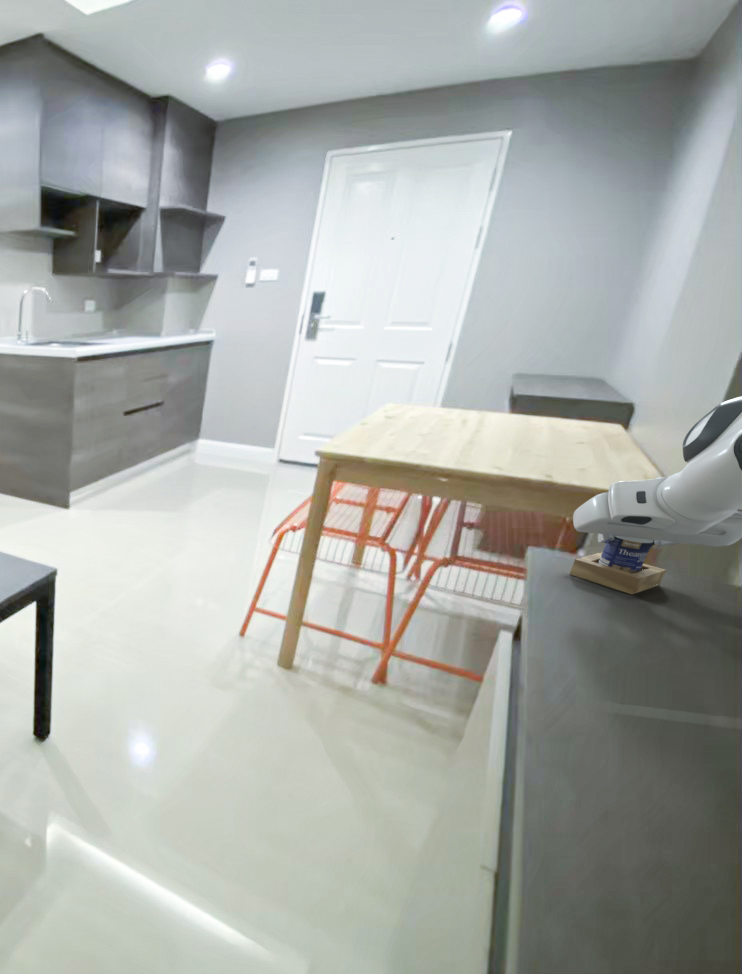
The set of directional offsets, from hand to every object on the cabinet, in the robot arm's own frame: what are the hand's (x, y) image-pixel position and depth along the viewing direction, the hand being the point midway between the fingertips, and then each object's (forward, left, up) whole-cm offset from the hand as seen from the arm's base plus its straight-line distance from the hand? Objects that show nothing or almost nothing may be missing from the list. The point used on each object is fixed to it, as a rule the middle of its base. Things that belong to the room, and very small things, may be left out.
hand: (626, 541), depth 106 cm
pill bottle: (0, +1, -6) cm, 6 cm away
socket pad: (0, +1, -7) cm, 7 cm away
